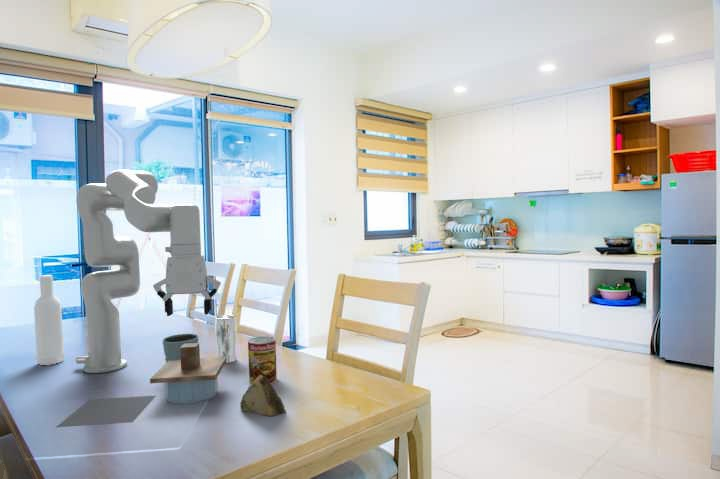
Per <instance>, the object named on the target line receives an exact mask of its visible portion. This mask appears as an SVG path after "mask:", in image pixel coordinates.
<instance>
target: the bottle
mask: <svg viewBox="0 0 720 479" xmlns="http://www.w3.org/2000/svg"><path fill="white" fill-rule="evenodd" d="M53 281H54V278H53V275H52V274H46V275H45V274H43V275H40V276H39V285H40V286H39V288H40V297H39V298H37V300H36V301H35V303H34V307H33V312H34V329H35V330H34V331H35V332H34V333H35V347H36V348H35V349H36V351H35V352H36V364H37V365H38V364H40V365H47V366H51V365H50V364H54V365H56V364H55V363H58V364H60V363H59V362H61V363H63V362H64V361H65V351H64V350H65V349H64V334H63V333H64V332H63V317H62V316H63V314H62V311H63V310H62V303H61V300H60V298H58V297H57V296H55V295H54V282H53ZM63 360H64V361H63ZM62 361H63V362H62ZM40 365H39V366H40Z"/></svg>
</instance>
